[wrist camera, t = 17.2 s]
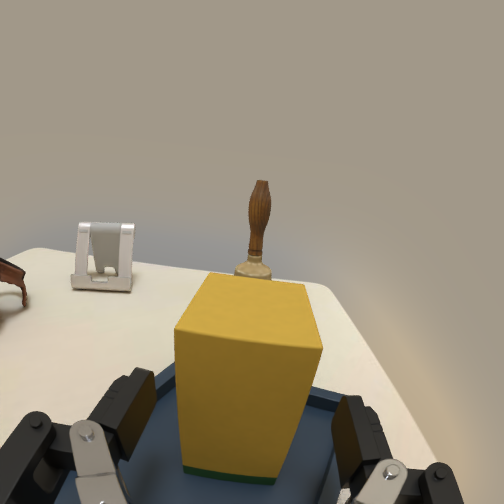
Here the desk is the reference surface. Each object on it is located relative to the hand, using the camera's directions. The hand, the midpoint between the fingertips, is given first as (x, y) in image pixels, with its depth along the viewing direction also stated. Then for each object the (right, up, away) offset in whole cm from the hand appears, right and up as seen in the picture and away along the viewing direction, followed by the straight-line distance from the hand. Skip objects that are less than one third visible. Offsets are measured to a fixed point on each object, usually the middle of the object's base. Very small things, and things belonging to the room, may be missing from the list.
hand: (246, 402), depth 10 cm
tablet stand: (-21, +2, +27) cm, 34 cm away
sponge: (-1, -5, +4) cm, 7 cm away
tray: (-3, -7, 0) cm, 8 cm away
